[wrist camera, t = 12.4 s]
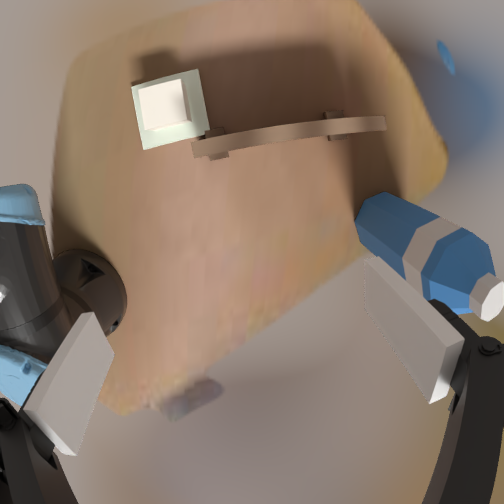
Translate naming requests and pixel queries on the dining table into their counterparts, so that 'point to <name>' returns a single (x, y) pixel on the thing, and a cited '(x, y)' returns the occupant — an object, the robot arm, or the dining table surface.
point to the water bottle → (432, 255)
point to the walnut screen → (285, 133)
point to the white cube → (165, 105)
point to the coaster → (178, 131)
